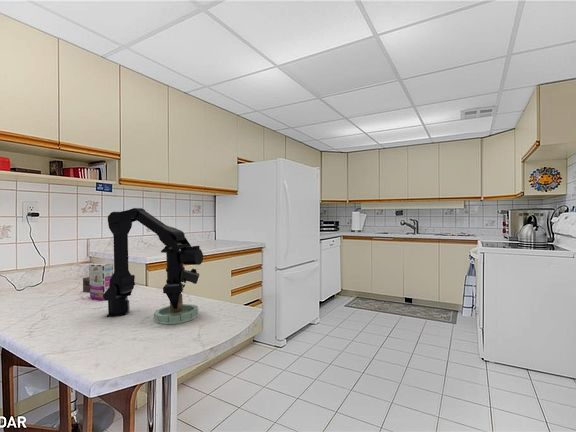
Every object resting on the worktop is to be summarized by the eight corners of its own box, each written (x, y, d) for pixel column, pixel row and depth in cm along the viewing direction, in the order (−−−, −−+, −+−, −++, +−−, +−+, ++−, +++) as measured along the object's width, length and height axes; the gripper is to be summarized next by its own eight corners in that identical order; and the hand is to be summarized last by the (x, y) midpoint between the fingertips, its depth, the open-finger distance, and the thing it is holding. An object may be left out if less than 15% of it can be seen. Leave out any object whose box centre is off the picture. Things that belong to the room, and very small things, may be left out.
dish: (151, 326, 108) (150, 318, 108) (158, 313, 122) (158, 306, 122) (197, 321, 111) (196, 313, 111) (198, 309, 126) (198, 302, 126)
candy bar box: (114, 298, 149) (113, 263, 149) (104, 301, 145) (102, 265, 145) (99, 296, 155) (98, 262, 155) (89, 299, 150) (88, 264, 150)
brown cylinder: (169, 313, 114) (168, 296, 114) (170, 310, 118) (170, 294, 118) (182, 312, 115) (181, 295, 115) (183, 308, 119) (182, 292, 119)
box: (82, 292, 166) (82, 278, 166) (92, 289, 171) (92, 276, 172) (91, 292, 164) (91, 278, 164) (101, 290, 170) (101, 276, 170)
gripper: (196, 266, 110) (198, 312, 110) (198, 260, 128) (200, 298, 128) (162, 269, 107) (163, 315, 107) (169, 261, 125) (170, 301, 125)
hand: (176, 307), depth 117 cm, fingers closed on brown cylinder, 4 cm apart
